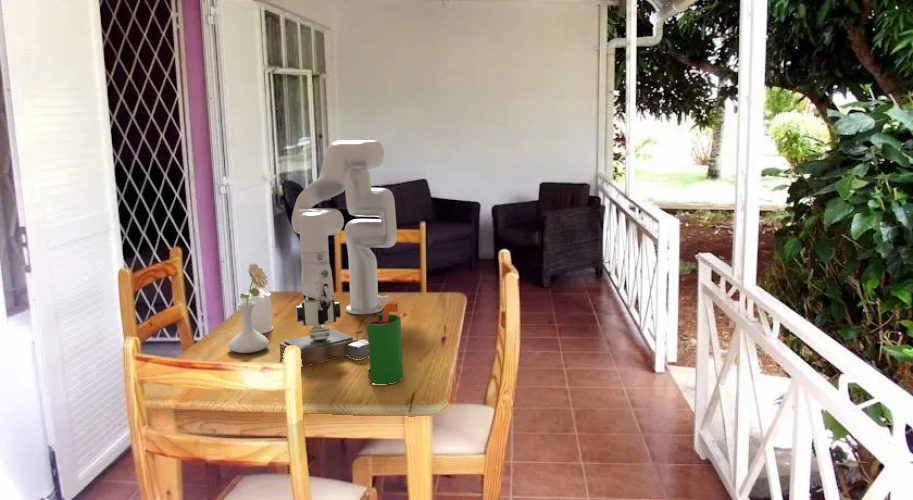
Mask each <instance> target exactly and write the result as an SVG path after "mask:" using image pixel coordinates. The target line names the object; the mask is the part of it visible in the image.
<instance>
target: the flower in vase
mask: <svg viewBox="0 0 913 500" xmlns="http://www.w3.org/2000/svg"><path fill="white" fill-rule="evenodd" d="M247 268H248V274H249V277H250V280H251V282H252V283H253V282H254V284H256V286H257V287H258V286H259V287H260V288H261V289H263V288H266V285H268V279H267V278H268V276H267V275H266V273H265V271H264V270H263V268H262V267H259V265H258V264H257V263H255V262H254V263H253V262H251V263H250V264H249V267H247ZM252 283H250V286H249V290H248V292H249V294H248V295H245V294H244V293H240V297H241V298H247V302H242V301H240V302H238V303H237V304H236V306H237V307H239V309H240V311H241V315H242V330H241V331H240V332H238V333H237V334H236V335H235V336H234V337H233V338H232V339H231V340H230V341H229V342H228V346H227V347H228V349H229V350H230V351H232V352H234V353H239V354H246V353H249V354H250V353H256V352H260V351H262V350H264V349H266V348H267V347H268V346H269V345H270V340H269V339H268V337H266V336H265V335H263V334H260V333H259V332H257V331H256V330H254V329H253V327H252V322H251V314H252V309H253V306H254V305H255V302H251V301H248V299H249V297H250V293H251V294H252V295H253V296H258V295H259V293H260V292H259V290H258V289H256V288H252V289H251V287H252ZM240 297H239V298H240ZM241 298H240V299H241Z"/></svg>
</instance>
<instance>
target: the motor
mask: <svg viewBox="0 0 913 500" xmlns="http://www.w3.org/2000/svg"><path fill="white" fill-rule="evenodd" d="M398 305H399V304H398V302H395V301H387V303H385V305H384V306H383V310H382V313H378V314H377V316H378V317H377V318H378V319H377V320H375V321H370V322H368V323H367V324H366V329H367V331H366V334H367V339H366V340H367V341H368V342H369V344H368V349H369V350H368V355H369V357H368V362H369V368H368V370H367V379H369V380H371V382H370V384H371V383H375V384H389V383H394V382H398V381H400V380H401V379H402V378H403V379H404V363H403V361H404V360H403V341H402V321H401V320H402V317H401V316H399V315H398V314H392V313H397V312H398V311H399V309H398V308H399V306H398ZM391 312H392V313H391ZM390 313H391V314H390ZM403 379H402V380H403ZM369 380H368V381H369ZM402 380H401V381H402ZM401 381H400V382H401ZM398 383H399V382H398Z"/></svg>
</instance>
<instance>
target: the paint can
mask: <svg viewBox="0 0 913 500" xmlns="http://www.w3.org/2000/svg"><path fill="white" fill-rule="evenodd" d="M251 283H252V281H251ZM251 283H250V284H251ZM252 288H256V289H258V290H259V292H260V293H259V295H258V296H253V295H252V294H251V293H250V297H249V299H248V301H251V302H255V305H254V306H253V309H252V314H251V322H252V327H253V329H254V330H256V331H257V332H259V333H260V334H262V335H263V334H267V333H270V332H272V331H273V330H274V326H273V320H272V304H271V296H272V293H271V292H269V291H264V289H263V288H262V287H261V288H260V287H259V286H258V287H257V286H256V284H254V282H253V283H252V286H251V289H252ZM243 294H245V295H248V294H249V291H248V292H245V293H243ZM239 298H240V300H241V302H247V298H241V297H239Z"/></svg>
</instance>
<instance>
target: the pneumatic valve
mask: <svg viewBox="0 0 913 500" xmlns="http://www.w3.org/2000/svg"><path fill="white" fill-rule="evenodd" d="M321 302H322V304H323V302H325V300H324V301H321ZM318 310H319V306H318V302H317V300H308V301H305V300H300V304H299V305H296V306H295V315H296V322H298V323H299V322H301V323H302V325H303V326H304V327H305V326H312V327H311V330H309V335H310V338H313V340H315V341H318V340H327V339H328V337H329V336H330V331H331V330H330V327H327V326H326V324H333V323H336V322H337V319H338V318H341V304H340V302H339V301H335V299H334V298H333V301H332V302H331V305H330V309H328V321H325V324H321V325H320V324H318Z"/></svg>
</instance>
